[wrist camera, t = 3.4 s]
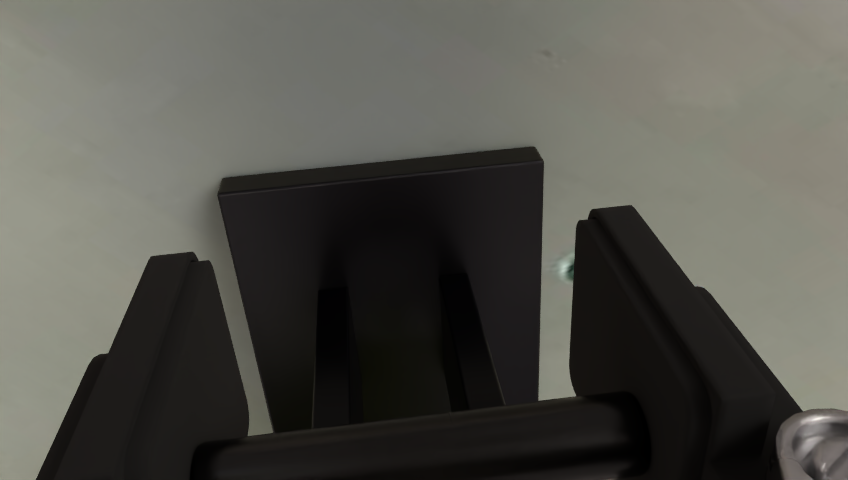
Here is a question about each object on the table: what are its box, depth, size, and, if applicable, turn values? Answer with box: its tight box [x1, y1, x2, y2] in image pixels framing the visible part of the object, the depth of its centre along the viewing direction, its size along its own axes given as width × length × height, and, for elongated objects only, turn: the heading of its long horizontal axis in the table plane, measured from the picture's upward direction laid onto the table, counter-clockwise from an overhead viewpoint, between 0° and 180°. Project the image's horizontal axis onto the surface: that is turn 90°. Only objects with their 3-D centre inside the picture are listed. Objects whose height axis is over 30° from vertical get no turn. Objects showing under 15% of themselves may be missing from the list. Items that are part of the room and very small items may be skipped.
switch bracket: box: [217, 147, 544, 433], centre depth 20 cm, size 12×10×13 cm
